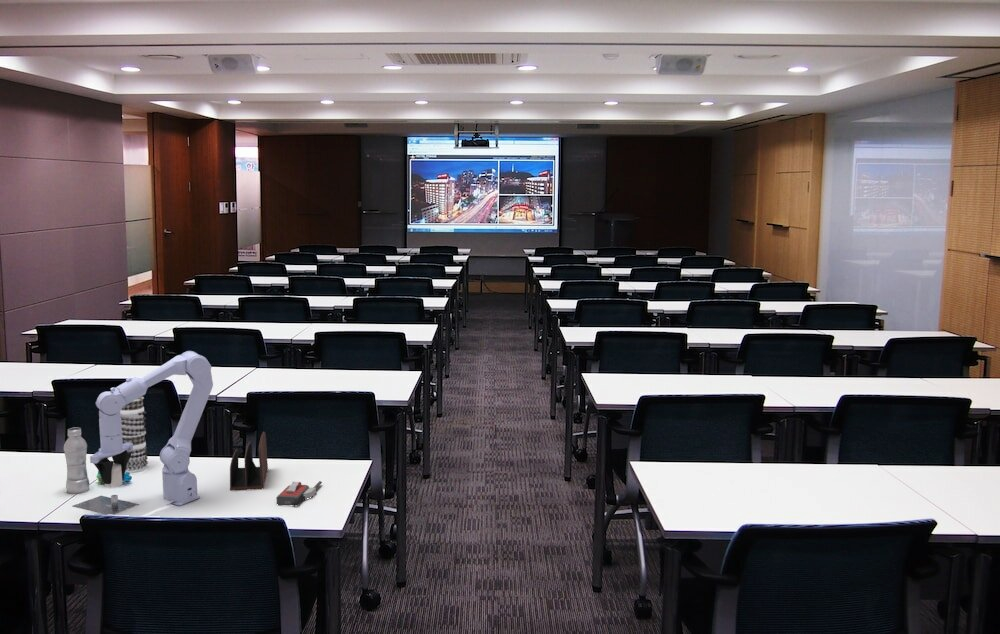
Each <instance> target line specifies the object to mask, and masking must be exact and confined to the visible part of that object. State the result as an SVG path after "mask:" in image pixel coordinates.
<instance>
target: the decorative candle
mask: <svg viewBox="0 0 1000 634" xmlns="http://www.w3.org/2000/svg"><path fill="white" fill-rule="evenodd" d="M144 399H145V397H144V396H141V397H139V398H137V399H136V400H134V401H132V402H130V403H129V404H127V405H125V406H123V408H122V410H121V411H120V415H121V424H122V441H123V444H124V443H127V442H128V443H133V450H128V451H127V452H130V453H131V457H130V459H129V461H128V463H127V466H126V470H125V472H130V473H138V471H139V472H142V471H141V470H143V471H145V470H147V469H148V468H149V466H148V464H149V463H148V462H149V461H148V459H149V458H148V456H147V454H148V451H147V450H148V447H147V446H146V445H147V442H146V437H145V435H146V434H147V428H146V427H145V425H147V422H146V420H147V417H146V416H144V415H146V414H147V411H146V410H145V407H144ZM147 467H148V468H147ZM146 468H147V469H146ZM144 469H145V470H144Z"/></svg>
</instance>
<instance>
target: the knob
mask: <svg viewBox="0 0 1000 634" xmlns="http://www.w3.org/2000/svg"><path fill="white" fill-rule="evenodd" d="M122 485H123V481H122V470H121V464H114V463H113V467H112V480H111V484H104V487H105V488H116V487H120V486H122Z"/></svg>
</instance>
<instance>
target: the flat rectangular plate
mask: <svg viewBox="0 0 1000 634" xmlns="http://www.w3.org/2000/svg"><path fill="white" fill-rule="evenodd" d="M118 496H119V495H118V494H112V495H110V497H109V496H104V495H99V496H95V497H92V498H90V499H87V500H85V501H82V502H79V503H76V504H74V505H71V507H72V508H78V509H81V510H84V511H85V510H86V511H89V512H95V513H98V514H103V515H106V514H113V515H115V514H118V513H121V512H123V511H125V510H129V509H131V508H135V507H136V506H139V505H140V503H135V502H132V501H127V500H122V499H119V498H118Z"/></svg>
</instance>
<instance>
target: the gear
mask: <svg viewBox="0 0 1000 634" xmlns="http://www.w3.org/2000/svg"><path fill="white" fill-rule="evenodd" d="M130 473H131V472H130ZM130 473H128V472H125V475H124V478H123V479H122V482H127V483H129V482H131V480H132V479H133V476H131V475H130ZM95 478H97V481H98V483H97V486H101V484H102V483H103V480H102V477H101V475H100V473H99V471H98V470H97V474H96V476H95Z"/></svg>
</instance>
